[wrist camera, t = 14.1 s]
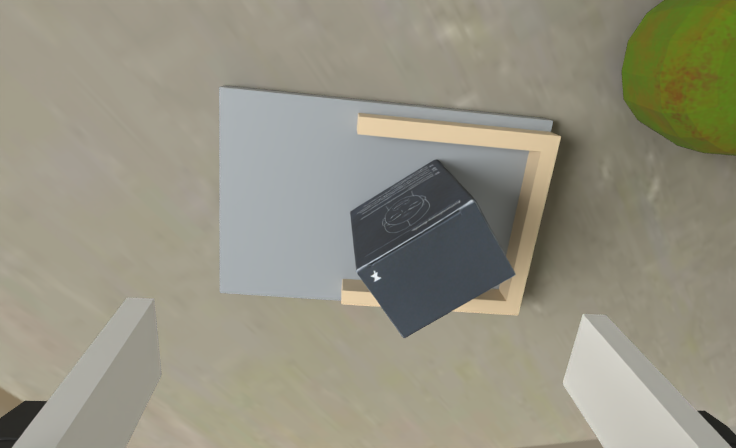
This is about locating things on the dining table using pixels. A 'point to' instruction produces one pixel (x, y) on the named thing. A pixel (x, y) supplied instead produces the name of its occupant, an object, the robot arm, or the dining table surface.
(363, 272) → the box
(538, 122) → the dock
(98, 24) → the dining table surface
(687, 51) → the apple
